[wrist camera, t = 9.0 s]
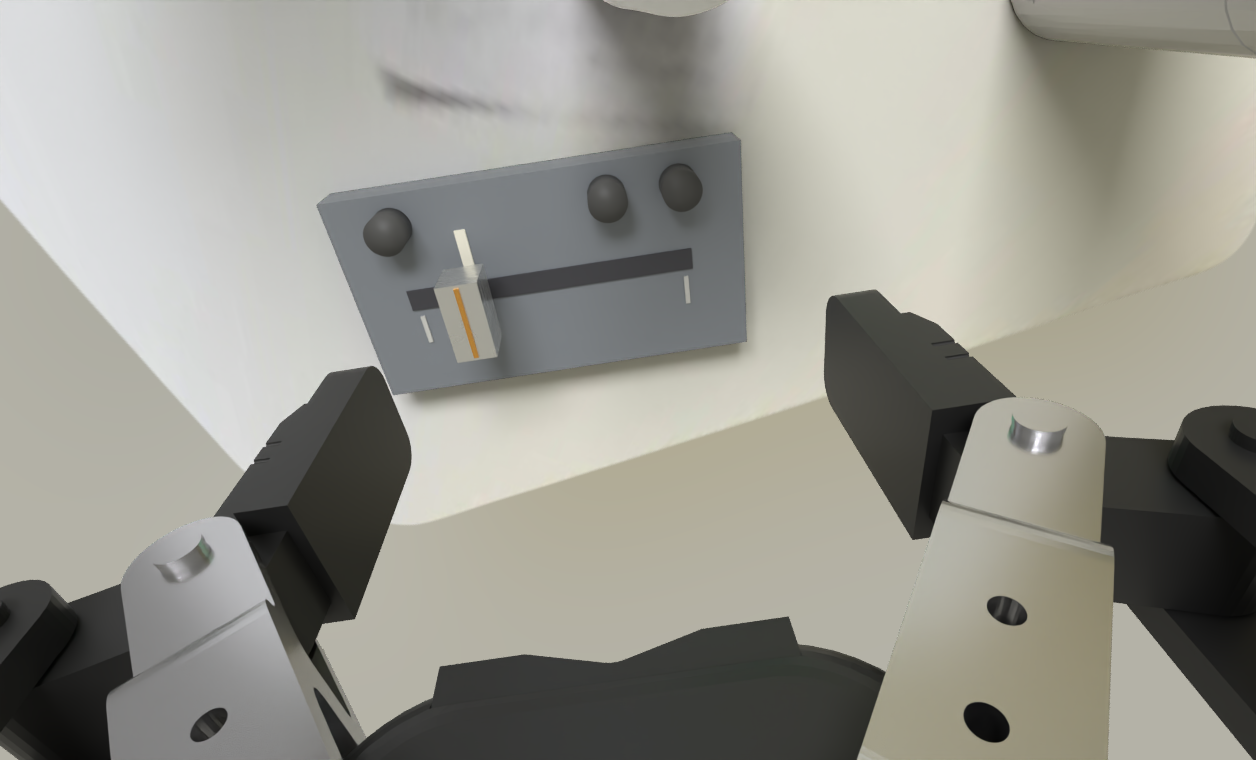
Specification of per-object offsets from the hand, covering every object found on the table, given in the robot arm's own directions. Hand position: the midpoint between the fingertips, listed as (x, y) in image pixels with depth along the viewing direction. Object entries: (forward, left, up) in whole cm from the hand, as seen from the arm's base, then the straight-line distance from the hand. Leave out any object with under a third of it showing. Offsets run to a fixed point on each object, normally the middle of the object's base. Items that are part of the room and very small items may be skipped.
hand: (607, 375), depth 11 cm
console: (+4, +10, -32) cm, 33 cm away
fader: (+9, +10, -29) cm, 32 cm away
